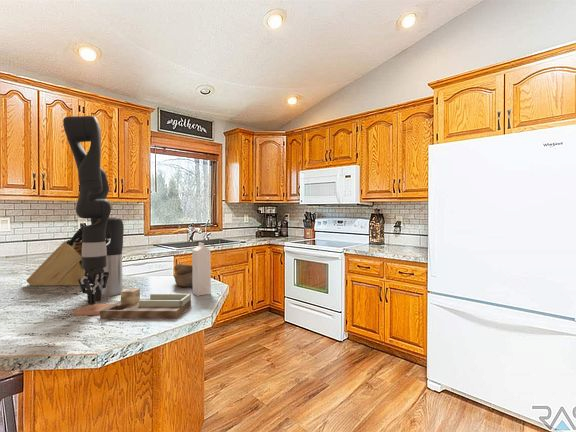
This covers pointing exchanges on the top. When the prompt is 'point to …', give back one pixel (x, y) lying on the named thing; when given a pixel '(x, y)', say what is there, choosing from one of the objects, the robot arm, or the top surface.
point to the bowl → (183, 275)
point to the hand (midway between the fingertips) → (94, 302)
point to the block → (130, 296)
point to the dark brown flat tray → (142, 311)
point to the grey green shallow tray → (165, 300)
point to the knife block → (62, 264)
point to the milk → (201, 270)
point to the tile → (91, 309)
